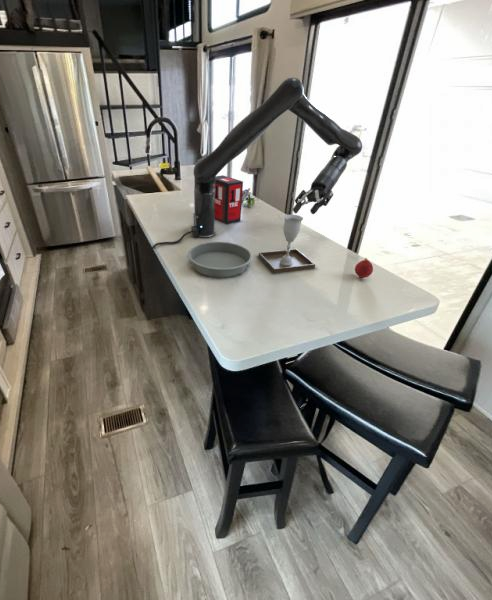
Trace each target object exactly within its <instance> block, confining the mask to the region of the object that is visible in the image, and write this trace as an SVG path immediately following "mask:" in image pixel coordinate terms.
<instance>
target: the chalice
mask: <svg viewBox="0 0 492 600" xmlns="http://www.w3.org/2000/svg"><path fill="white" fill-rule="evenodd" d="M283 219H284V223H283V229H282V230H283V235H284V238H285V241H286V242H287V245H286V248H287V249H285V250H286V253H287V254H286V255H285V256H283V257H282V259H281V260H280V263H281V264H283V265H291V264H293V262H292V258H291V257H290V256H289V252H290V249H291V247H292V246H291V243H293V242H294V241H295V240H296V238H297V237H298V235H299V233H300V230H301V224H302V221H303V220H304V218H303V217H302V216H301V215H297V214H285V215H284V216H283Z"/></svg>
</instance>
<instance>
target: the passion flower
mask: <svg viewBox="0 0 492 600" xmlns="http://www.w3.org/2000/svg"><path fill="white" fill-rule="evenodd" d="M251 195H252V191H251V187H248V188H247V189H243V190H242V204H243V203H244V202H246V203H247V208H249V209H250V208H251V207H254V205H255V203H256V201H259V196H256V197H255V196H254V197H251ZM255 198H256V200H255Z"/></svg>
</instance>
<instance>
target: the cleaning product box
mask: <svg viewBox="0 0 492 600" xmlns="http://www.w3.org/2000/svg"><path fill="white" fill-rule="evenodd" d="M243 187H244V181H243V180H239V179H236V178H233V177H230V176H227V175H216V177H215V220H217V221H219V222H221V223H223V224H226V225H229V224H235V223H238V222H241V217H242V205H243V203H242V191H244V189H243Z"/></svg>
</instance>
